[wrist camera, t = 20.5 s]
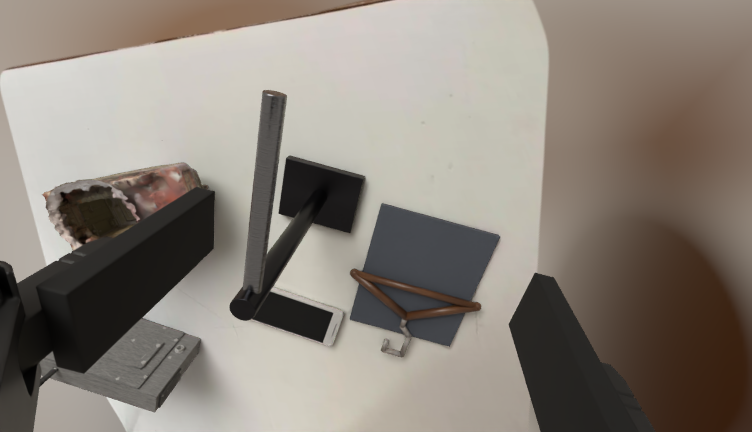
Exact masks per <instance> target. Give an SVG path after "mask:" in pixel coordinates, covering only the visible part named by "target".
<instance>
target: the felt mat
mask: <svg viewBox="0 0 752 432" xmlns="http://www.w3.org/2000/svg"><path fill="white" fill-rule="evenodd" d="M499 238H500V236H499V235H497V234H493V233H489V232H486V231H482V230H478V229H475V228H471V227H467V226H464V225H460V224H456V223H453V222H449V221H445V220H442V219H438V218H435V217H431V216H427V215H424V214H420V213H416V212H413V211H409V210H405V209H402V208H398V207H394V206H391V205H387V204H383V203H382V204H381V208H380V211H379V215H378V218H377V222H376V226H375V229H374V233H373V236H372V240H371V244H370V247H369V251H368V254H367V258H366V262H365V265H364V269H363V272H365V273H369V274H373V275H376V276H380V277H384V278H387V279H391V280H395V281H398V282H402V283H406V284H409V285H413V286H417V287H420V288H424V289H428V290H431V291H435V292H439V293H442V294H446V295H450V296H453V297H457V298H461V299H464V300H468V301H471V299H472V297H473V295H474V292H475V290H476V288H477V286H478V284H479V282H480V279H481V277H482V275H483V273H484V271H485V269H486V266H487V264H488V262H489V260H490V258H491V255H492V253H493V251H494V249H495V247H496V245H497V242H498V240H499ZM372 283H373V284H374V285H376V286H377V287H378V288H379V289H380V290H382V291H383V292H384V293H385V294H386V295H388V296H389V297H390V298H391V299H392V300H393V301H395V302H396V303H397V304H398V305H399V306H401V307H402V308H403V309H404V310H405V311H407V312H410V311H417V310H425V309H432V308H439V307H446V306H453V305H455V304H452V303H448V302H444V301H441V300H437V299H433V298H430V297H426V296H422V295H419V294H415V293H412V292H408V291H404V290H401V289H397V288H393V287H390V286H386V285H382V284H379V283H375V282H372ZM464 314H465V313H459V314H451V315H444V316H437V317H429V318H422V319H414V320H407V323H406V325H405V326H406V328H407V329H408V331H409V332H410V334H411V335H412V337H416V338H420V339H424V340H427V341H431V342H435V343H438V344H442V345H446V346H449V347H450V345H451V343H452V340H453V338H454V336H455V334H456V332H457V330H458V327H459V325H460V323H461V321H462V319H463V316H464ZM350 320H354V321H357V322H361V323H365V324H368V325H372V326H376V327H379V328H383V329H387V330H390V331H394V332H398V333H401V334H404V333H403V331H402V330H401V329H400V323H401V320H402V318H401V317H400V316H398V315H397V314H396V313H395V312H394V311H392V310H391V309H390V308H389V307H388V306H386V305H385V304H384V303H383V302H382V301H380V300H379V299H378V298H377V297H376V296H374V295H373V294H372V293H371V292H370V291H368V290H367V289H366V288H365V287H364V286H362V285H361V284H360V283H359V287H358V290H357V294H356V298H355V301H354V305H353V308H352V312H351V316H350Z"/></svg>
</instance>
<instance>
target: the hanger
mask: <svg viewBox="0 0 752 432" xmlns="http://www.w3.org/2000/svg"><path fill="white" fill-rule="evenodd" d="M350 275H351V276H352V277H353V278H354V279H355V280H356V281H358V282H359V283H360V284H361V285H362V286H364V287H365V288H366V289H367V290H368V291H370V292H371V293H372V294H373V295H374V296H376V297H377V298H378V299H379V300H380V301H382V302H383V303H384V304H385V305H386V306H388V307H389V308H390V309H391V310H392V311H394V312H395V313H396V314H397V315H398V316H400V317H401V318H402V320H401V323H400V329H401V330H402V331H403V333H404V334H405V336H406V338H405V341H404V343H403V346H402V349H401V351H397V350H393V349H389V348H387V346H388V343H389V340H388V339H385V340H384V342H383V345H382V347H381V351H382V352H384V353H387V354H391V355H395V356H398V357H404V355H405V353H406V350H407V348H408V345H409V342H410V340H411V337H412V335H411V334H410V332H409V331H408V329H407V328H406V326H405V325H406V323H407V320H414V319H422V318H429V317H437V316H444V315H451V314H459V313H466V312H474V311H479V310H480V309H481V304H480V303H478V302H472V301H468V300H464V299H461V298H457V297H453V296H450V295H446V294H442V293H439V292H435V291H431V290H428V289H424V288H420V287H417V286H413V285H409V284H406V283H402V282H398V281H395V280H391V279H387V278H384V277H380V276H376V275H373V274H369V273H365V272H362V271H358V270H357V269H352V270H351V271H350ZM372 282H375V283H379V284H382V285H386V286H390V287H393V288H397V289H401V290H404V291H408V292H412V293H415V294H419V295H422V296H426V297H430V298H433V299H437V300H441V301H444V302H448V303H452V304H455V305H453V306H446V307H439V308H432V309H425V310H417V311H410V312H407V311H405V310H404V309H403V308H402V307H401V306H399V305H398V304H397V303H396V302H395V301H393V300H392V299H391V298H390V297H389V296H388V295H386V294H385V293H384V292H383V291H382V290H380V289H379V288H378V287H377V286H376V285H374V284H373V283H372Z"/></svg>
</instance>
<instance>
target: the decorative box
mask: <svg viewBox="0 0 752 432" xmlns="http://www.w3.org/2000/svg"><path fill="white" fill-rule="evenodd" d="M161 141H163V140H161ZM195 187H199V188H203V189H208V185H202V184H201V181H200V178H199V176H198V174H197V171H196V170H194V169H192V168H190V166H189V165H188V164H187V163H176V164H170V165H161V166H155V167H149V168H144V169H139V170H134V171H129V172H124V173H118V174H114V175H110V176H105V177H100V178H95V179H87V180H78V181H76V182H71V183H65V184H62V185H60V186H58V187H55V188H54V189H53V190H51V191H49V192H45V193H44V194H42V195H43V196H44V197H45V199H46V201H47V202H46V209H47V210H48V213H49V220H50V222H51V223H53V224H54V225H55V230H57V232H59V233H60V236H61V237H63V238H64V239H65V240H66V241H67V242H69V243H71V244H70V245H71V247H72V249H73V251H74V250H75V249H77V248H79V247H80V246H82V245H84V244H85V243H87V242H90V241H93V240H96V239H99V238H103V237H106V236H108V237H112V238H114V237H116V236H118V235H119V234H121V233H123V232H124V231H126V230H127V229H129V228H131V227H132V226H134V225H135V224H137V223H139V222H140V221H142V220H143V219H145V218H147V217H148V216H150V215H151V214H153V213H155V212H156V211H158V210H160V209H161V208H163V207H164V206H166V205H168V204H169V203H171V202H172V201H174V200H176V199H177V198H179V197H180V196H182V195H184V194H185V193H187V192H188V191H190V190H192V189H193V188H195Z"/></svg>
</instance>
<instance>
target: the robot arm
mask: <svg viewBox="0 0 752 432" xmlns="http://www.w3.org/2000/svg"><path fill="white" fill-rule="evenodd" d="M214 200H215V191H211V190H207V189H203V188H199V187H195V188H193V189H192V190H190V191H188V192H187V193H185V194H184V195H182V196H180V197H179V198H177V199H176V200H174V201H172V202H171V203H169V204H168V205H166V206H164V207H163V208H161V209H160V210H158V211H156V212H155V213H153V214H151V215H150V216H148V217H147V218H145V219H143V220H142V221H140V222H139V223H137V224H135V225H134V226H132V227H131V228H129V229H127V230H126V231H124V232H123V233H121V234H119V235H118V236H116V237H114V238H112V237H108V236H106V237H103V238H99V239H96V240H93V241H90V242H87V243H85V244H84V245H82V246H80V247H79V248H77V249H75V250H74V251H72V253H71V254H70V253H68V254H67V255H65V256H63V257H62V258H60V259H59V261H55V262H53V263H51V264H50V265H48V266H46V267H45V268H43V269H41V270H39V271H38V272H36V273H34V274H33V275H31V276H29V277H27V278H26V279H24V280H22V281H21V282H19V283H16V279H15V276H14V272H13V269H12V266H11V265H9V264H8V263H6V262H4V261H0V432H33V429H34V421H35V414H36V407H37V400H38V393H39V386H40V379H41V372H42V370H41V366H40V361H41V360H43V359H44V358H45V357H46V356H48V355H49V354H50V353H51V352H52V351H53V355H54V359H55V362H56V366H57V367H59V368H63V369H67V370H71V371H75V372H78V373H82V374H84V373H85V372H86V371H87V370H88V369H90V368H91V367H92V366H93V365H94V364H95V363H96V362H97V361H98V360H99V359H100V358H101V357H102V356H103V355H104V354H105V353H106V352H107V351H108V350H109V349H110V348H111V347H112V346H113V345H114V344H115V343H116V342H117V341H119V340H120V339H121V338H122V337H123V336H124V335H125V334H126V333H127V332H128V331H129V330H130V329H131V328H132V327H133V326H134V325H135V324H136V323H137V322H138V321H139V320H140V319H141V318H142V317H143V316H144V315H145V314H146V313H148V312H149V311H150V310H151V309H152V308H153V307H154V306H155V305H156V304H157V303H158V302H159V301H160V300H161V299H162V298H163V297H164V296H165V295H166V294H167V293H168V292H169V291H170V290H171V289H172V288H173V287H174V286H175V285H177V284H178V283H179V282H180V281H181V280H182V279H183V278H184V277H185V276H186V275H187V274H188V273H189V272H190V271H191V270H192V269H193V268H194V267H195V266H196V265H197V264H198V263H199V262H200V261H201V260H202V259H203V258H204V257H206V256H207V255H208V254H209V253H210V252H211V251H212V250H213V249H214ZM509 327H510V331H511V334H512V337H513V341H514V344H515V347H516V351H517V354H518V357H519V361H520V364H521V367H522V371H523V374H524V377H525V381H526V384H527V388H528V391H529V394H530V398H531V401H532V404H533V408H534V411H535V414H536V418H537V421H538V424H539V428H540V431H541V432H655V430H654V428H653V427H652V425H651V423H650V422H649V420H648V418H647V417H646V415H645V413H644V412H643V411H641V406H640V405H639V403H638V401H637V400H636V398H634V395H633V393H632V391H631V390H630V388H629V386H628V385H627V383H626V381H625V380H624V379H623V378H622V377H621V375H619V374H618V372H617V371H616V370H615V369H614V368H613V367H612V366H611V365H609V364H606V363H602V362H600V360H599V358H598V356H597V355H596V353H595V351H594V349H593V348H592V346H591V344H590V342H589V340H588V338H587V337H586V335H585V333H584V331H583V329H582V327H581V326H580V324H579V322H578V320H577V318H576V317H575V315H574V313H573V311H572V310H571V308H570V306H569V304H568V302H567V301H566V299H565V297H564V295H563V293H562V291H561V289H560V288H559V286H558V284H557V282H556V280H555V279H554V278H553V277H550V276H545V275H542V274H538V273H535V274H534V276H533V278H532V280H531V282H530V284H529V286H528V287H527V289H526V291H525V293H524V295H523V297H522V299H521V301H520V303H519V305H518V307H517V309H516V311H515V313H514V315H513V317H512V319H511V321H510V323H509Z"/></svg>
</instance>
